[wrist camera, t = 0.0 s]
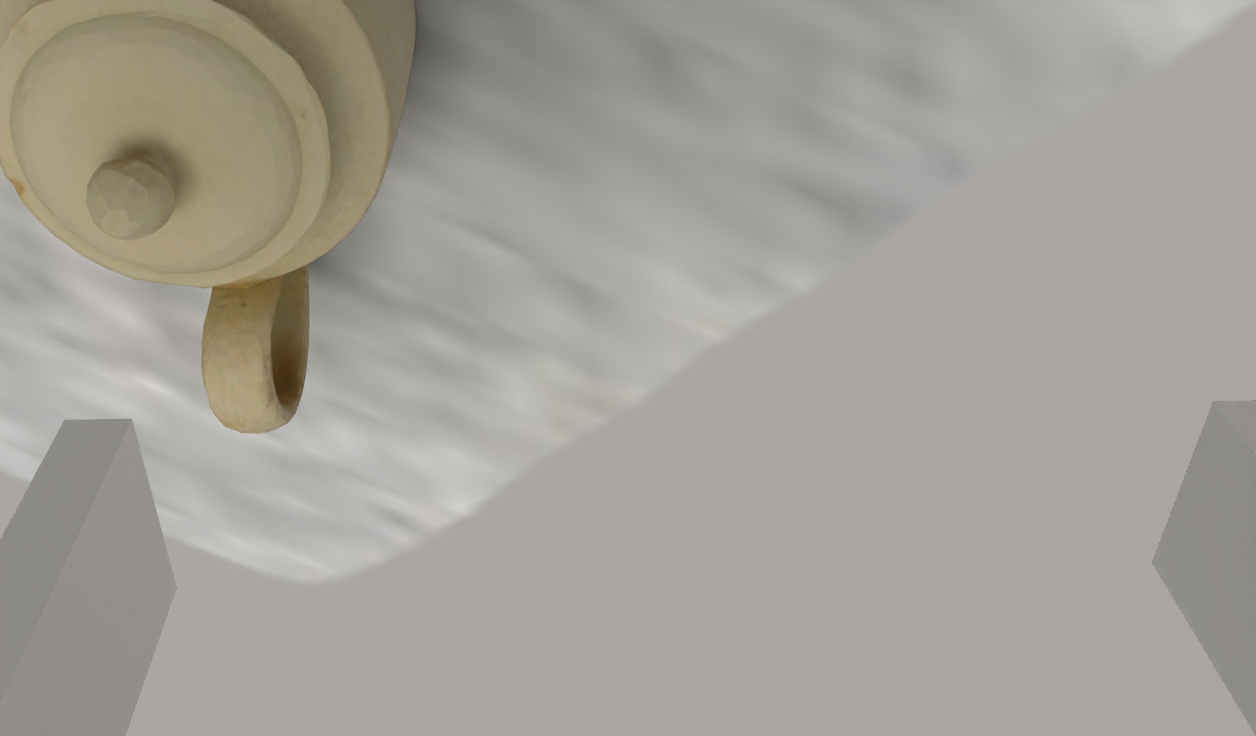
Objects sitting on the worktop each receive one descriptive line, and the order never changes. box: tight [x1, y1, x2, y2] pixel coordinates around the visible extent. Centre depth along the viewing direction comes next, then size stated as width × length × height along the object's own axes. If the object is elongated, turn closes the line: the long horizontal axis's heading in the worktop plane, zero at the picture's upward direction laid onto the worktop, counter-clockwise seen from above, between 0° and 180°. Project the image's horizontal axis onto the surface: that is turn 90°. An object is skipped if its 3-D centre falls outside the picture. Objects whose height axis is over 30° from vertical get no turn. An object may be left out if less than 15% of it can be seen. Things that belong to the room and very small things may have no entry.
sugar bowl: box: [0, 0, 416, 433], centre depth 34 cm, size 15×11×15 cm
